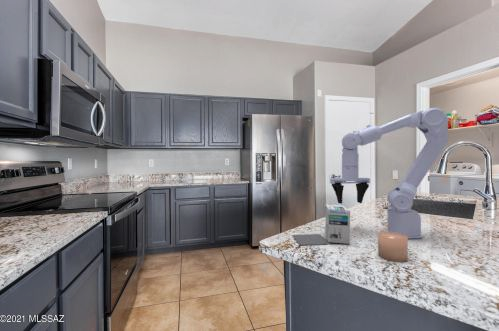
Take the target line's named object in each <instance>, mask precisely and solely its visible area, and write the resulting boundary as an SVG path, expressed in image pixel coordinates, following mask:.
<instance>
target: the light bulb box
mask: <svg viewBox="0 0 499 331" xmlns="http://www.w3.org/2000/svg"><path fill="white" fill-rule="evenodd" d="M324 228H325V232H324V234H325V237H326V238H327V239H326V240H327V241H328V242H330V243H336V244H346V245H350V243H351V242H350V241H351V240H350V238H351V237H350V236H351V210H350V209H348V208H347V207H346V206H345V204H331V203H325V227H324Z"/></svg>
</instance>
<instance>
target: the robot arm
mask: <svg viewBox="0 0 499 331" xmlns="http://www.w3.org/2000/svg"><path fill="white" fill-rule="evenodd" d="M449 121H450V118H449V117H448V115H447V114H446V112H445V111H444V110H443V109H442V108H439V107H430V108H427V109H426V110H425V111H424V110H419V111H417V112H412V113H410V114H407V115H404V116H401V117H400V118H397V119H394V120H393V121H392V120H391V121H390V122H387V123H384V124H382V125H380V126H379V125H375V124H372V125H371V124H368V125H366V126H365V127H363V128H362V129H359V130H352V132H349V133H347V134H345V135H344V136H343V137H342V139H341V145H342V149H341V151H342V152H341V153H342V154H341V177H331V178H329V184H331V187H332V188H333V190H334V193H335V195H336V196H335V197H336V200H337V203H338V204H339V205H343V194H344V193H343V192H344V188H345V186H344V185H343V184H355V188H356V200H357V203H358V204H362V203H363V200H364V197H365V195H366V192H367V190H368V189H369V187H370V184H371V178H370V177H359V149H358V147H359V146H362V147H363V146H366V145H368V144H372V143H374V142H377V141H379V140H381V139H382V136H383V135H386V134H388V133H391V132H395V131H397V130H401V129H403V128H412V129H415V128H418V130H419V131H420V132H421V133H423V134H422V135H423V136H424V138H425V141H426V142H425V144H424V145H423V147H422V149H420V152H419V153H418V155H417V156H416V158H415V160H414V161H413V162H412V164H411V166H410V167H409V168H408V170H407V172H406V174H405V175H404V176H403V178H402V180H401V181H400V182H399V183H398V184H397V185H396V187H395V188H394V189H392V190H391V191H389V192H388V194H387V196H386V199H387V202H388V203H389V206H388V207H387V230H381V232H396V233H401V234H404V235H406V236H407V237H408V240H409V239H423V236H422V221H421V220H422V218H421V215H420V214H419V212H418V211H417V210H415V209H412V207H413V204H414V198H415V196H416V195H417V191H418V190H417V189H418V187H419V186H420V185H421V183H422V181H423V179H424V178H425V176H426V175H427V174H428V173H429V170H430V169H431V168H432V166H433V164H434V163H435V162H436V160H437V159H438V157H439V156H440V153H441V152H442V151H443V150H444V148H445V147H446V146H447V143H448V141H449V128H448V125H449Z"/></svg>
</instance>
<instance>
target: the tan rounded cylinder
mask: <svg viewBox="0 0 499 331" xmlns="http://www.w3.org/2000/svg"><path fill="white" fill-rule="evenodd" d="M408 243H409V239H408V237H407V236H406V235H404V234H401V233H396V232H382V231H380V232H378V234H377V244H378V246H377V255H378V257H379V258H381V259H383V260H386V261H389V262H394V263H405V262H408V259H409V257H408V256H409V252H408V250H409V248H408V247H409V244H408Z"/></svg>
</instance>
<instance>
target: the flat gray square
mask: <svg viewBox="0 0 499 331" xmlns="http://www.w3.org/2000/svg"><path fill="white" fill-rule="evenodd" d="M291 236H292V237H293V238H294V240H295V241H296V243H297V244H298V246H303V247H304V246H325V245H327V244H330V245H331V243H332V242H328V239H326V238H325V237H324V236H323V235H321V233H311V234H305V233H304V234H292V235H291Z"/></svg>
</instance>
